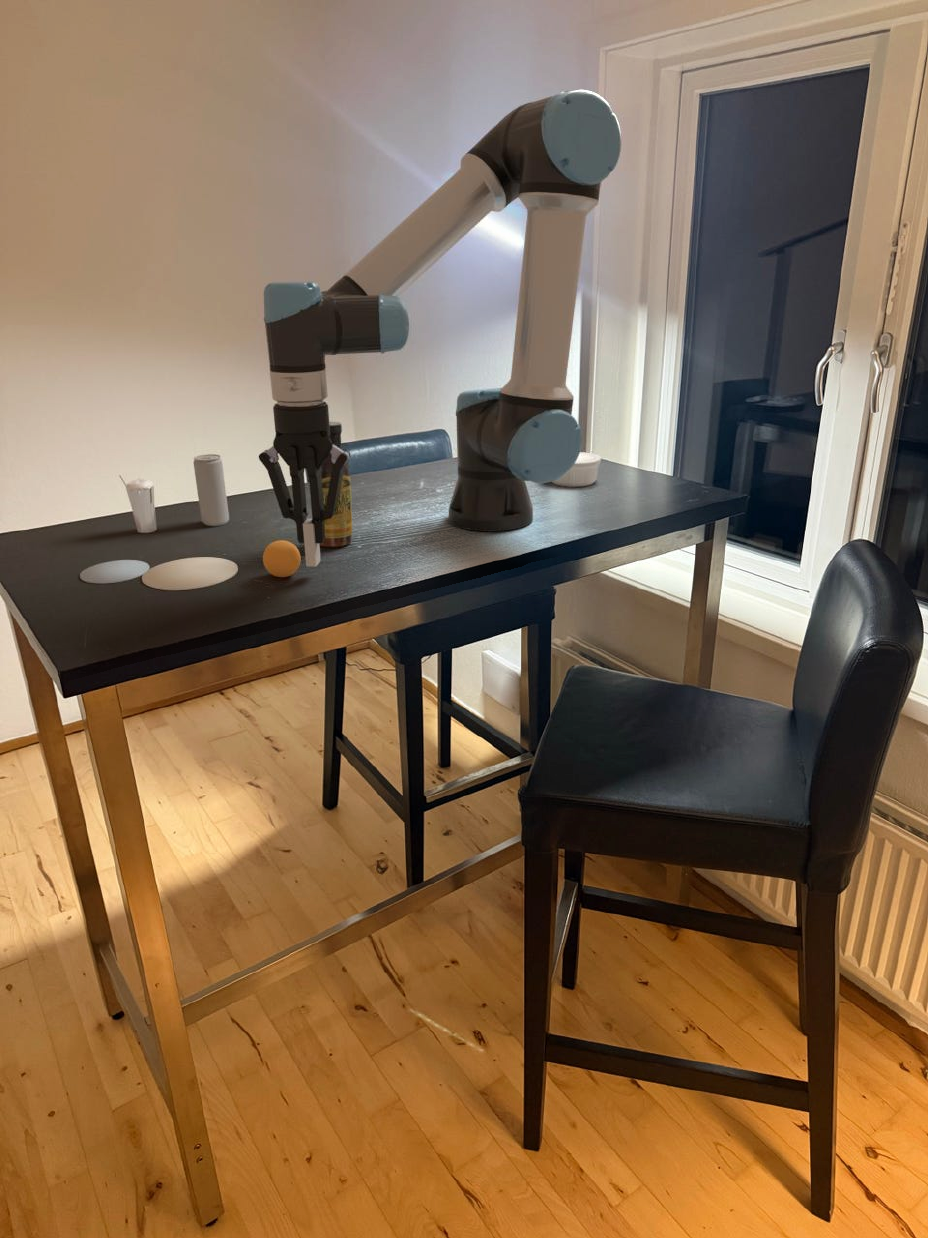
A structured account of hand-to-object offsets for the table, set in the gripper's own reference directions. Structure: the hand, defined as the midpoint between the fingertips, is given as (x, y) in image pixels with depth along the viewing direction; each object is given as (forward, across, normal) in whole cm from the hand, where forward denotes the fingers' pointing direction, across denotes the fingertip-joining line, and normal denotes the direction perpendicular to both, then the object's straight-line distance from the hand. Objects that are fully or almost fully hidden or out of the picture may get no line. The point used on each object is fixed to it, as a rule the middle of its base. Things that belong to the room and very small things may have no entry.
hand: (313, 563), depth 127 cm
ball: (-1, -5, 0) cm, 5 cm away
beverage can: (+2, -25, +27) cm, 37 cm away
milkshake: (+3, -36, +22) cm, 42 cm away
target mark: (+2, -19, 0) cm, 19 cm away
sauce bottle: (+2, 0, +16) cm, 16 cm away
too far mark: (+2, -31, 0) cm, 31 cm away
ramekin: (+2, +40, +59) cm, 72 cm away
